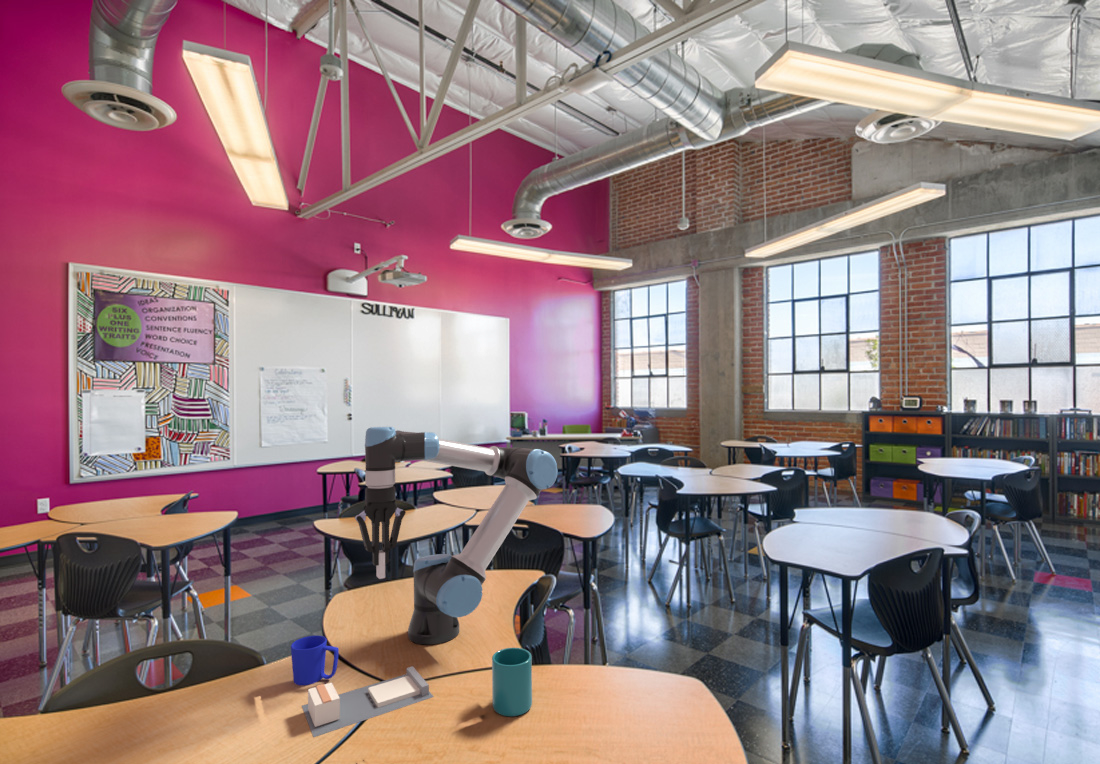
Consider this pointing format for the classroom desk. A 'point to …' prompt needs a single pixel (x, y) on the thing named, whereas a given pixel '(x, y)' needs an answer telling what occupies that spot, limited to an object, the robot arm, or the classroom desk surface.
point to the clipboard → (375, 700)
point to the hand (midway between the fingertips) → (380, 577)
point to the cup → (512, 681)
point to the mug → (311, 659)
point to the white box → (323, 704)
